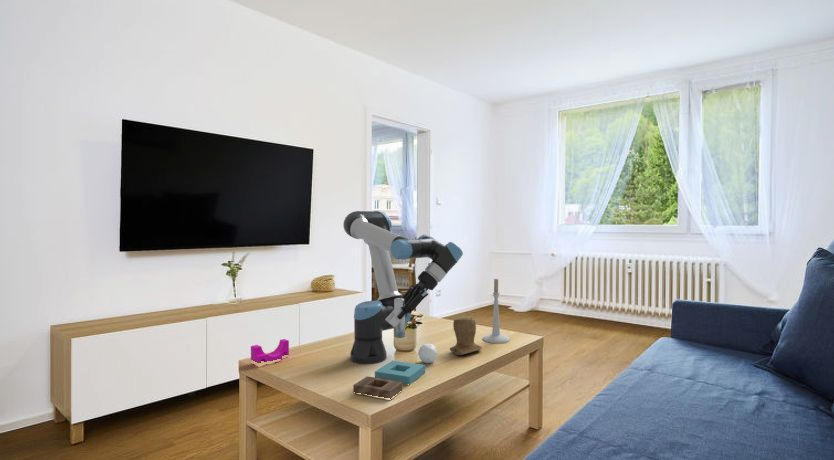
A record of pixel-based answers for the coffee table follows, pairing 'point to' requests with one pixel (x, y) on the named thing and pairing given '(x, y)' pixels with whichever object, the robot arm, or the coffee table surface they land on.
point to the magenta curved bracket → (280, 351)
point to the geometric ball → (427, 353)
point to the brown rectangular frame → (378, 387)
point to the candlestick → (496, 321)
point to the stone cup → (464, 336)
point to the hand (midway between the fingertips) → (389, 323)
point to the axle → (400, 327)
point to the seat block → (400, 371)
